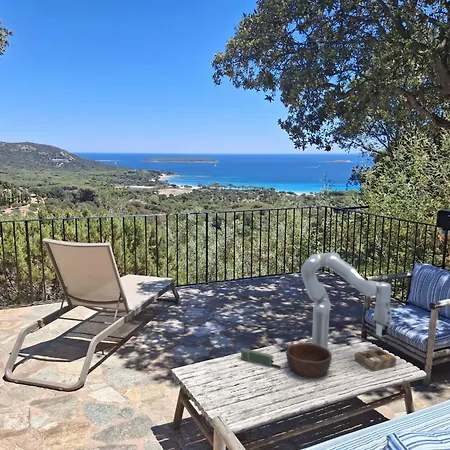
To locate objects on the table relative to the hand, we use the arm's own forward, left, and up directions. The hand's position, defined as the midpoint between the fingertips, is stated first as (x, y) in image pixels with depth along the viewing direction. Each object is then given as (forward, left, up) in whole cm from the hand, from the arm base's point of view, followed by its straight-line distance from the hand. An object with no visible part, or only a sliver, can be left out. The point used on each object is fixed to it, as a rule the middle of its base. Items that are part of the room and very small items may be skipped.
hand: (381, 333), depth 239 cm
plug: (0, 0, -1) cm, 1 cm away
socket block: (-5, -1, -17) cm, 18 cm away
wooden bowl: (-46, +7, -17) cm, 49 cm away
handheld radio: (-67, +22, -17) cm, 73 cm away
